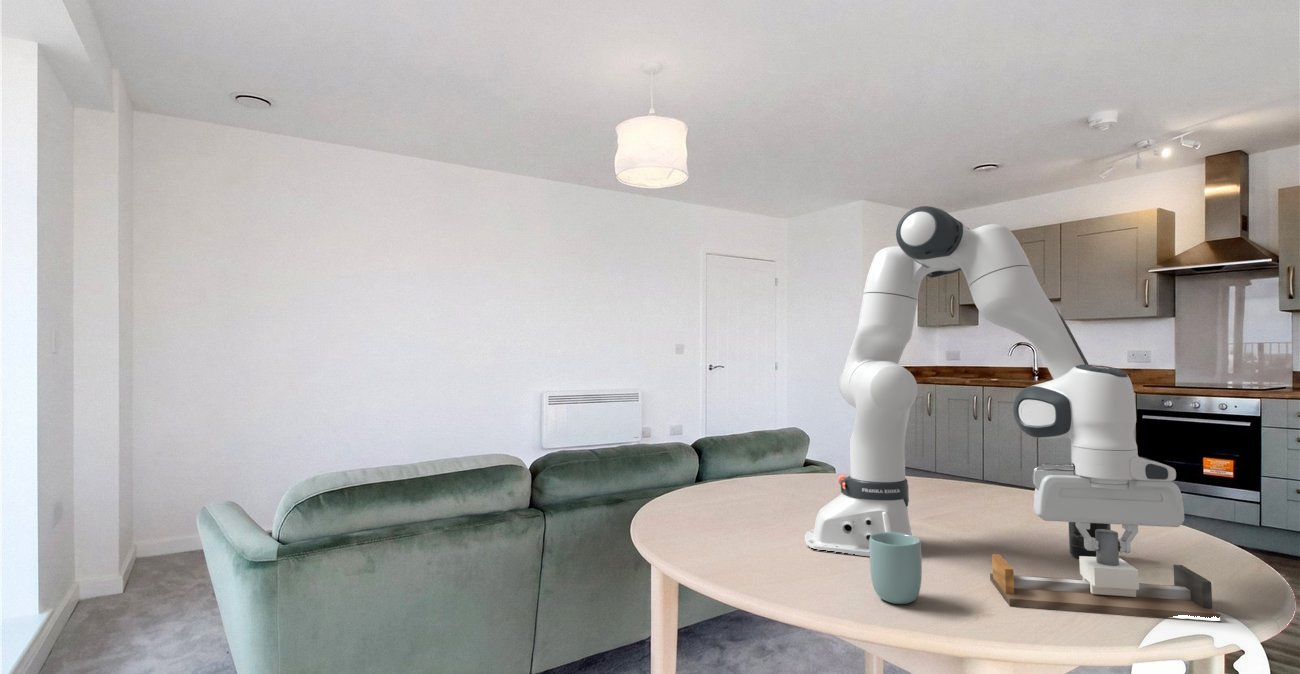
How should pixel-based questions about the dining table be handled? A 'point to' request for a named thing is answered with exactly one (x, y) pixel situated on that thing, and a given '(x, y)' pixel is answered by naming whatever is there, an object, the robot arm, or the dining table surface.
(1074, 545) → the supplement bottle
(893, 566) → the cup
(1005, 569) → the rail track
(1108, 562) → the slider
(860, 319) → the robot arm
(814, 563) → the dining table surface
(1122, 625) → the dining table surface
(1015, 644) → the dining table surface
